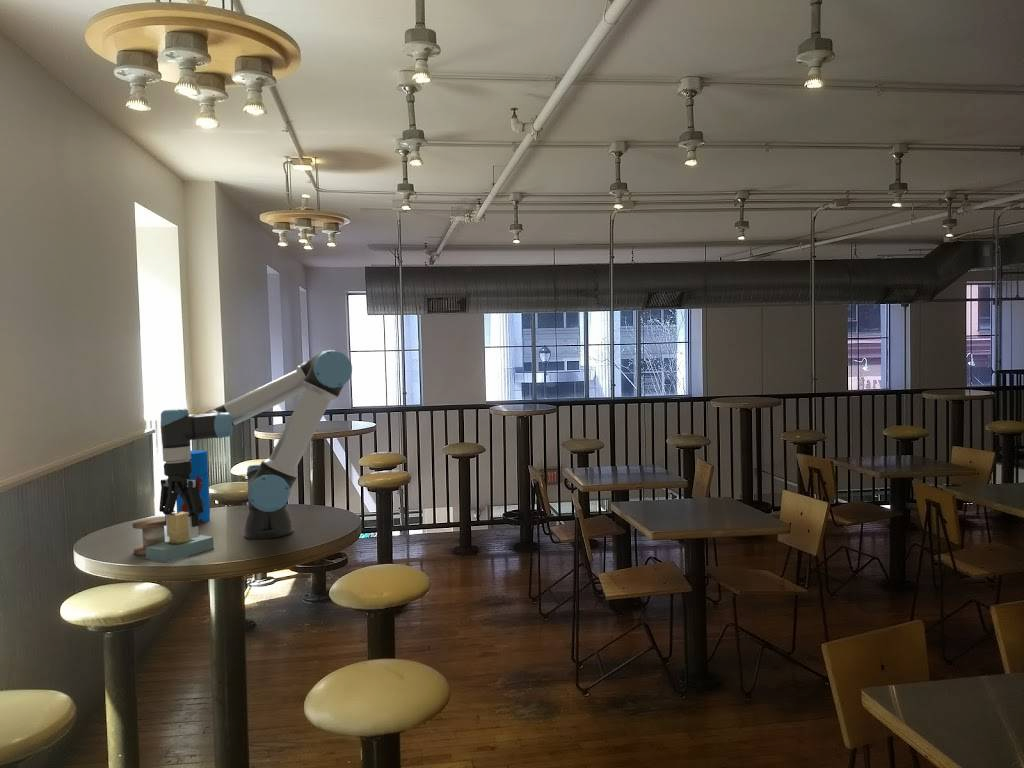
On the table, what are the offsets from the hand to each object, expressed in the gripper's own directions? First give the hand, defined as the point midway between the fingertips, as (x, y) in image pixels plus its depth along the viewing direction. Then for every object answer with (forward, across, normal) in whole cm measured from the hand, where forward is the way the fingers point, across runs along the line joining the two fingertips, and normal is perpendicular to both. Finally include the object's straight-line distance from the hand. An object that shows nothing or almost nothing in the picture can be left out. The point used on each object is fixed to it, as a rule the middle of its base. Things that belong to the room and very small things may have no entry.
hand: (182, 536), depth 208 cm
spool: (+5, +12, +1) cm, 13 cm away
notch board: (+5, +2, 0) cm, 5 cm away
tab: (+5, +2, 0) cm, 5 cm away
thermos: (+4, +35, -30) cm, 47 cm away
